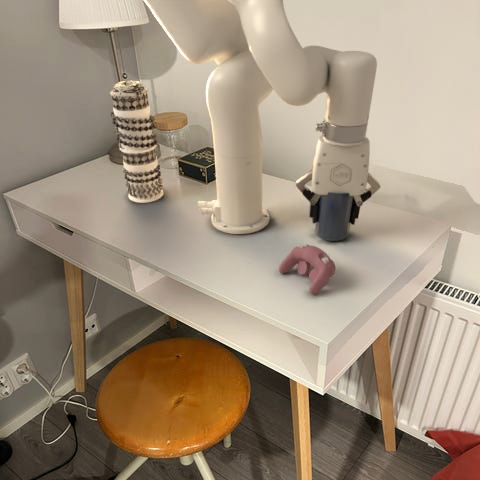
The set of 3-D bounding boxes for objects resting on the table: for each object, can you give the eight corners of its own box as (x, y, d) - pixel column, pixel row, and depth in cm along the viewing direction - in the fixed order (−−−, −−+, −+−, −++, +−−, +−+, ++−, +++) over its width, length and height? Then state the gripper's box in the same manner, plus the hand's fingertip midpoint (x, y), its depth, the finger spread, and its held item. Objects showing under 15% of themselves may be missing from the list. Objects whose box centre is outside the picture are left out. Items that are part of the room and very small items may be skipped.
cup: (315, 240, 97) (320, 193, 90) (314, 223, 102) (318, 178, 96) (349, 241, 96) (357, 194, 90) (346, 224, 102) (353, 179, 95)
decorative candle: (119, 195, 118) (97, 84, 102) (151, 184, 122) (134, 76, 107) (140, 207, 112) (119, 91, 97) (172, 194, 117) (158, 82, 101)
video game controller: (327, 297, 85) (344, 261, 83) (311, 296, 82) (327, 258, 80) (291, 272, 92) (306, 238, 89) (275, 271, 89) (289, 235, 86)
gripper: (296, 137, 84) (289, 228, 95) (398, 139, 83) (379, 231, 94) (295, 123, 90) (289, 210, 101) (390, 125, 89) (373, 213, 100)
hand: (333, 220), depth 97 cm, fingers closed on cup, 6 cm apart
